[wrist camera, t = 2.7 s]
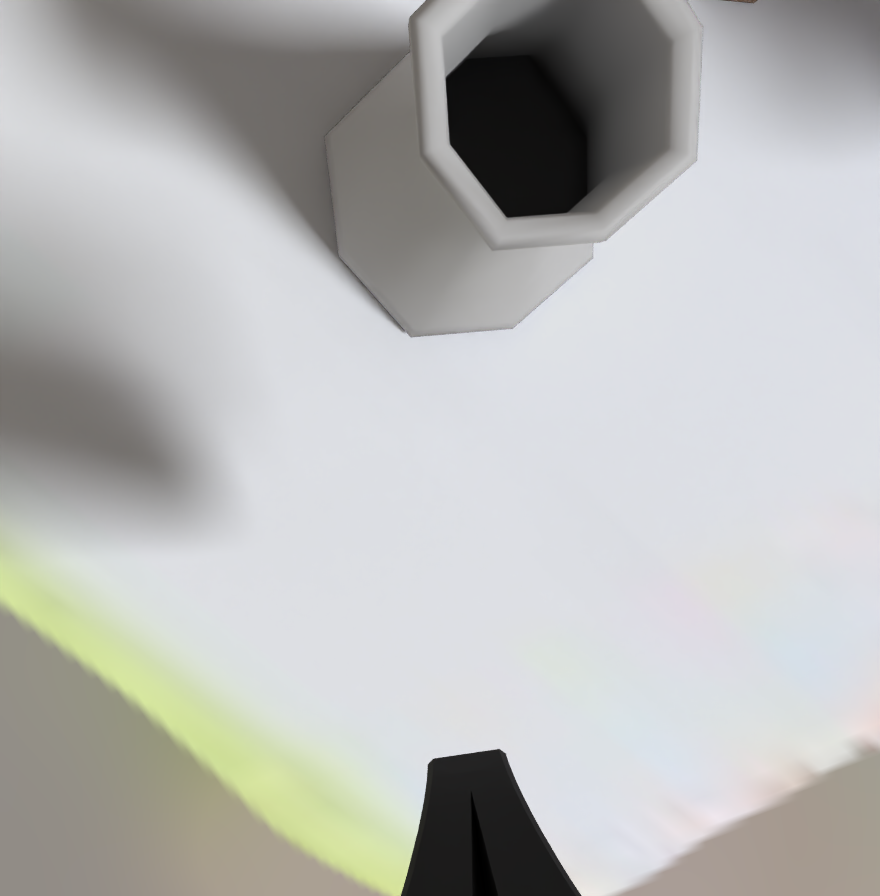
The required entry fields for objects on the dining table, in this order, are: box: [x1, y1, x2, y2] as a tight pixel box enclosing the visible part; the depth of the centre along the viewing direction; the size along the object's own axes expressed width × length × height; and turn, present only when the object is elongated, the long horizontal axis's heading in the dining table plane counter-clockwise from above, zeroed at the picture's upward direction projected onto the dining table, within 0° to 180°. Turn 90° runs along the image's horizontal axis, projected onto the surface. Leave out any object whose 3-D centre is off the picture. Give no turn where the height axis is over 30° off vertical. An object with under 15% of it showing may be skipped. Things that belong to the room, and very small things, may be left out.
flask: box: [324, 0, 703, 337], centre depth 11 cm, size 7×7×10 cm
